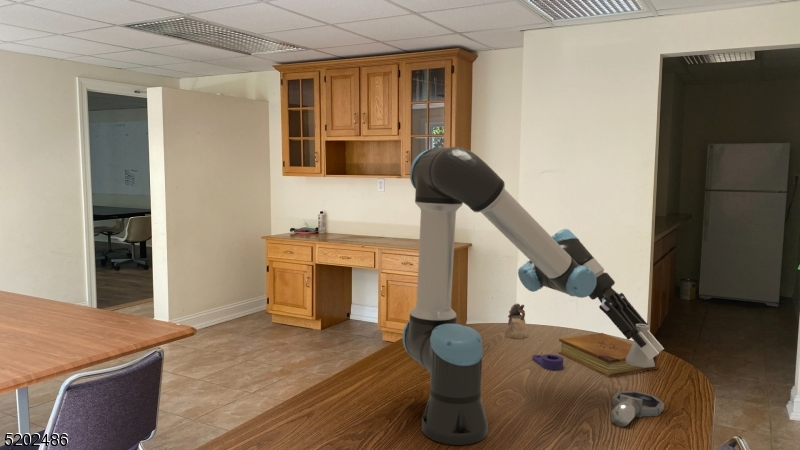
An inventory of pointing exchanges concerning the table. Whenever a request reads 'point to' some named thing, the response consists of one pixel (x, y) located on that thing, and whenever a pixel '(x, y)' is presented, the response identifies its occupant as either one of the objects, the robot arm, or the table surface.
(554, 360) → the lever
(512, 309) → the figurine
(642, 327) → the flask
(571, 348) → the diary
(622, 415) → the octagonal metal scoop
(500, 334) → the table surface
